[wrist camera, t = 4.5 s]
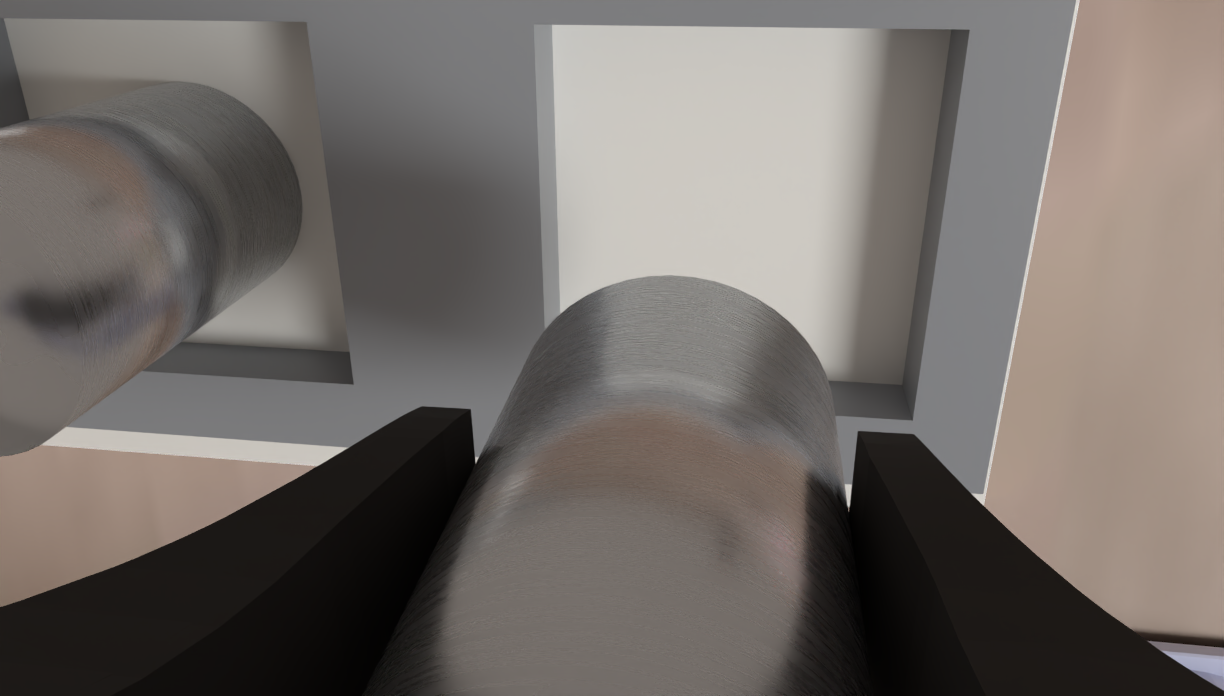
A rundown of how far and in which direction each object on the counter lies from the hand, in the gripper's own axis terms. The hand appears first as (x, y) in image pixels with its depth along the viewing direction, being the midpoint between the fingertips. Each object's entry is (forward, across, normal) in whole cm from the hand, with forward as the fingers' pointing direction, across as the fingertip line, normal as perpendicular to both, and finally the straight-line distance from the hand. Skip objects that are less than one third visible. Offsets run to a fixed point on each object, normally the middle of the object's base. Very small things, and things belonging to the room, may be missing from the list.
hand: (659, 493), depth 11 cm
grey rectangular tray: (+9, +5, -1) cm, 11 cm away
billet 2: (+2, 0, 0) cm, 2 cm away
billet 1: (+8, +10, -1) cm, 13 cm away
